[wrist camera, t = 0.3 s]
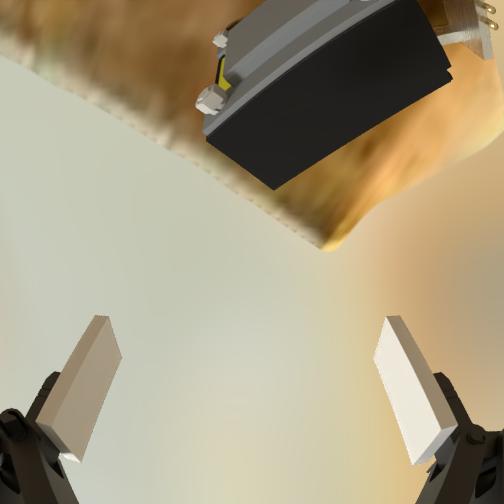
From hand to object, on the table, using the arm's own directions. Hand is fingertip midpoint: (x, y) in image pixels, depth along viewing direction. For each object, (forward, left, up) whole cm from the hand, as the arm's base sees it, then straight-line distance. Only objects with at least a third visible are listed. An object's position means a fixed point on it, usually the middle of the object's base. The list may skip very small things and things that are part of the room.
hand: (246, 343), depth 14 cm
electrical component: (-1, +7, -34) cm, 35 cm away
